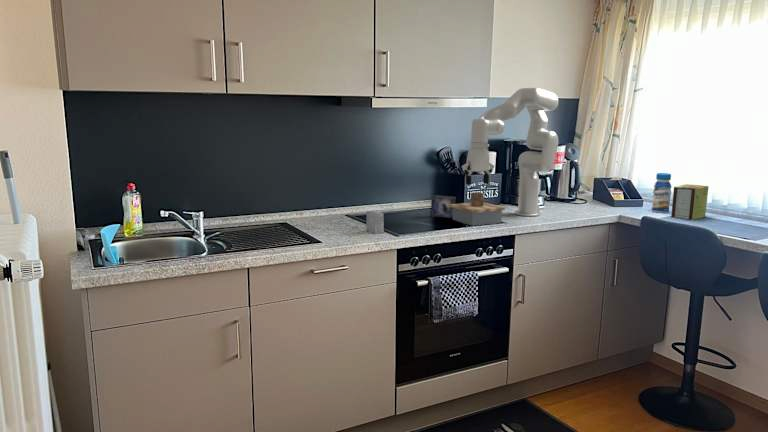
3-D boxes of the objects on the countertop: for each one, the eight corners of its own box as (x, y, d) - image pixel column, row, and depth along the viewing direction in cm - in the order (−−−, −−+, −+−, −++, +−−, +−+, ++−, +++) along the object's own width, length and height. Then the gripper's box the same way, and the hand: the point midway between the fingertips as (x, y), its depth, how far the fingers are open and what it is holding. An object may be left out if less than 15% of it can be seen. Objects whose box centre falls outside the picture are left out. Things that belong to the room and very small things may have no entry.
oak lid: (481, 204, 280) (482, 189, 278) (504, 210, 264) (505, 194, 262) (450, 206, 272) (450, 191, 270) (472, 213, 256) (472, 196, 254)
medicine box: (383, 233, 247) (384, 213, 245) (374, 234, 245) (374, 213, 243) (375, 229, 254) (375, 210, 252) (366, 230, 251) (366, 211, 250)
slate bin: (480, 218, 280) (480, 204, 278) (501, 224, 265) (501, 209, 264) (452, 221, 272) (452, 206, 271) (472, 227, 258) (472, 212, 257)
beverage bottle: (671, 211, 303) (675, 173, 299) (665, 213, 297) (669, 174, 293) (654, 209, 308) (658, 172, 305) (648, 211, 303) (652, 173, 299)
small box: (430, 218, 281) (430, 196, 279) (435, 215, 287) (435, 194, 285) (450, 220, 276) (451, 198, 275) (455, 217, 282) (456, 196, 280)
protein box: (705, 216, 289) (709, 186, 287) (692, 220, 280) (695, 188, 277) (684, 213, 297) (687, 183, 294) (670, 217, 288) (673, 186, 285)
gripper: (489, 146, 269) (487, 182, 272) (458, 146, 262) (456, 183, 265) (499, 146, 263) (497, 184, 266) (468, 147, 255) (466, 185, 258)
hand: (477, 184), depth 265 cm, fingers open, 9 cm apart
